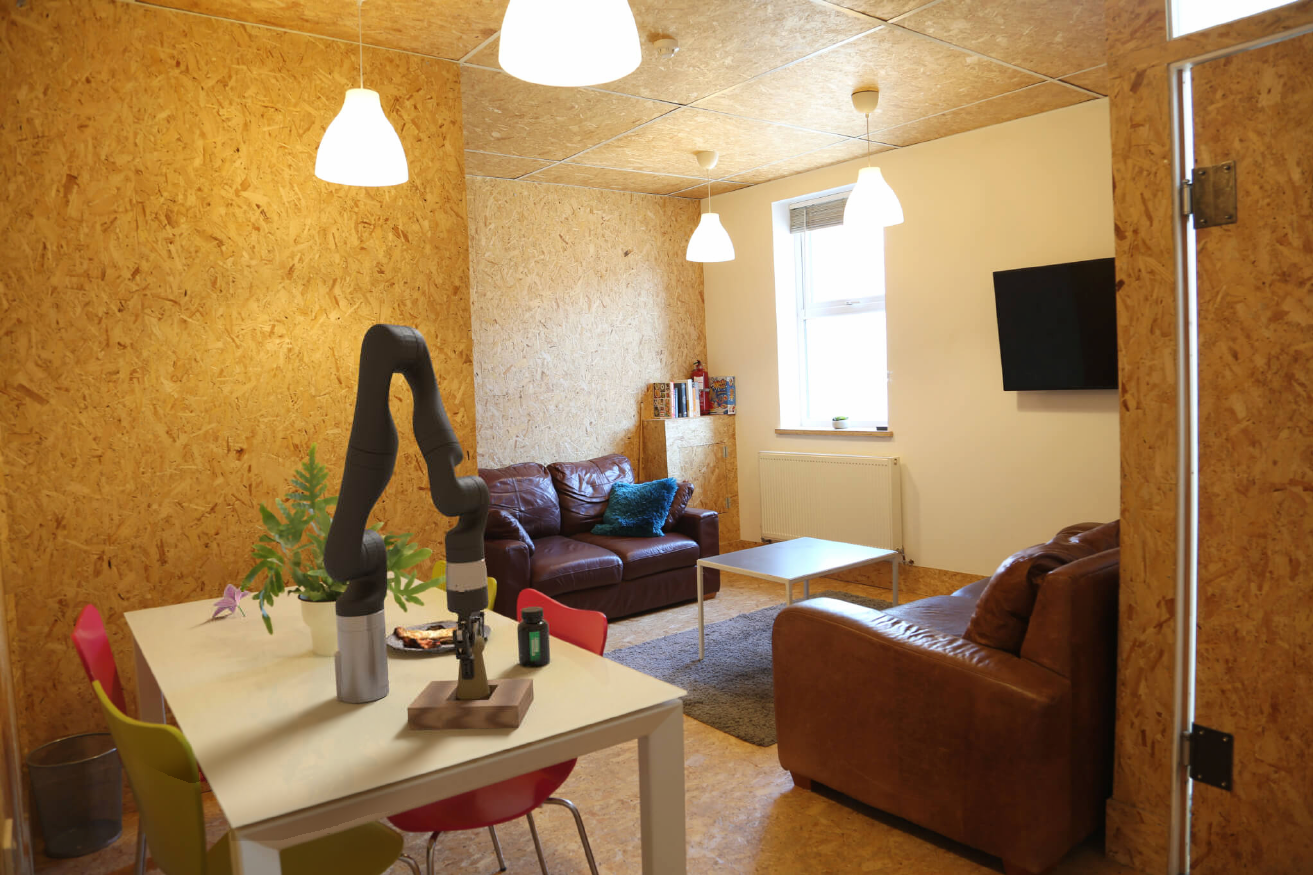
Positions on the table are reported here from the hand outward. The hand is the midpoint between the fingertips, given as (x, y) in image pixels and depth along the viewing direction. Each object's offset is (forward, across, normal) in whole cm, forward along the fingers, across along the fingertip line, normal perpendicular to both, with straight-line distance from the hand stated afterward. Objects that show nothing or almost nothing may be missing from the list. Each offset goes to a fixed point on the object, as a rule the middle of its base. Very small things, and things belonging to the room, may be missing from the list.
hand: (472, 673), depth 159 cm
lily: (+7, -78, -89) cm, 119 cm away
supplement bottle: (+8, -29, +6) cm, 31 cm away
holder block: (+8, 0, 0) cm, 8 cm away
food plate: (+8, -47, -21) cm, 52 cm away
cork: (+4, 0, 0) cm, 4 cm away
